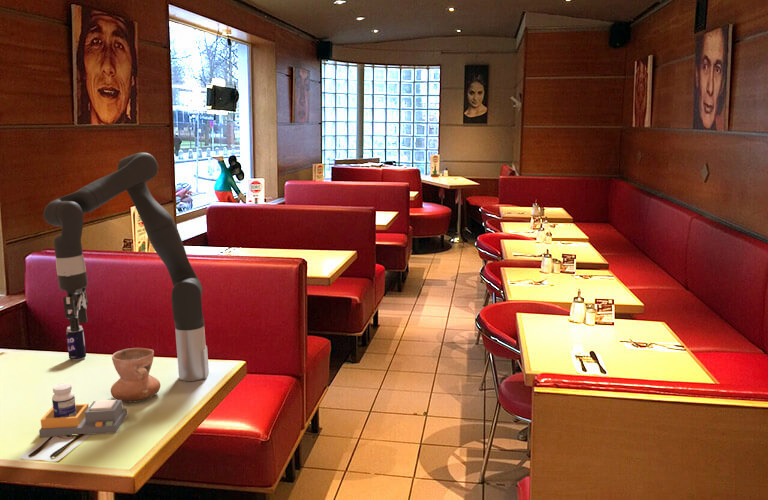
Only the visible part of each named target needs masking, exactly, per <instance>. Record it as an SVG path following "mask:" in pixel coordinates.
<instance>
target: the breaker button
mask: <svg viewBox="0 0 768 500" xmlns="http://www.w3.org/2000/svg"><path fill="white" fill-rule="evenodd" d="M95 401H96V402H95V403H94V405H93V406H92V407H91V408H90V409H91V411H99V410H112V409H113V408H114V406H115V405H116V399H107V400H104V399H103V400H95Z"/></svg>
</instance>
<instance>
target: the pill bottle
mask: <svg viewBox="0 0 768 500" xmlns="http://www.w3.org/2000/svg"><path fill="white" fill-rule="evenodd" d="M72 387H73V386H72V384H71V383H59V384H57V385H54V386H53V387H52V393H53V395H52V397H51V402H52V407H53V411H54V418H60V417H75V416H76V415H77V413H76V398H75V393H74V392H73V391H72V389H73V388H72Z"/></svg>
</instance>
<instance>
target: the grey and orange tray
mask: <svg viewBox="0 0 768 500" xmlns="http://www.w3.org/2000/svg"><path fill="white" fill-rule="evenodd" d="M115 400H116V399H115ZM96 401H97V400H95V401H92V402H91V404H90V405H89V403H80V404H76V403H75V405H76V413H77V415H76V416H75V417H60V418H54V411H53V406H51V408H50V409H49V410H48V411H47V412H46V413H45V414H44V415H43V417H41V419H40V426H41V427H40V429H39V430H38V433H39V438H51V437H65V436H64V435H70V436H73V435H72V434H84V435H100V434H116V433H117V431H118V430H119V429H120V427H121V426H122V424H123V423H124V421H125V420H126V418H127V417H128V409H127V407H126V408H124V407H123V402H122V400H116V405H115V406H114V408H113V409H112V410H99V411H91V409H90V408H91V407H92V406H93V405H94V403H95V402H96Z"/></svg>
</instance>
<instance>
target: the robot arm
mask: <svg viewBox="0 0 768 500" xmlns="http://www.w3.org/2000/svg"><path fill="white" fill-rule="evenodd" d="M158 171H159V164H158V161H157V159H156V158H155V157H154V156H153V155H152V154H151V153H148V152H137V153H134V154H131V155H128V156H125V157H123V158H121V159H120V160H119V161H118V163H117V170H116V171H113V172H112V173H110V174H108V175H107V174H106V175H105V176H102V177H101V178H98V179H96V180H94V181H92V182H90V183H88V184H86V185H85V186H83V187H81V188H79V189H77V191H75V192H71V193H70V194H66V195H63V196H60V197H58V198H56V199H54V200H51V201H50V202H49V203H48V204H46V206H45V207H44V210H43V214H42V215H43V218H44V221H45V222H46V223H47V224H48V225H51V226H54V227H61V234H59V235H57V236H55V238H54V239H53V247H54V254H55V267H56V268H55V269H56V274H57V275H56V276H57V282H58V289H59V290H60V291H64V292H66V296H64V297H62V298H63V299H62V302H63V307H64V308H63V309H64V317H65V319H67V320H68V321H69V326H70V329H71V331H72V332H76V331H79V330H80V328H79V325H80V324H87V322H88V316H87V308H88V307H87V306H88V305H89V301H88V295H87V289H86V288H87V287H88V286H89V282H88V281H89V280H88V275H87V268H86V261H85V258H84V252H83V246H82V237H83V236H82V235H83V227H84V221H85V220H84V219H85V218H84V217H85V216H84V214H88V213H92V212H93V211H95V210H96V209H98V208H100V207H102V206H103V205H104V204H106V203H108V202H110V201H111V200H112V199H114V198H115V197H117V196H119V195H120V194H121V193H124V192H125V191H126V192H127V194H128V195H129V198H130V199H131V201H132V203H133V205H134V207H135V210H136V212H137V213H138V215H139V218H140V220H141V222H142V224H143V228H144V230H145V233H146V236H147V237H148V240H149V242H150V245H151V246H152V248H153V250H154V251H155V253H156V254H157V256H158V257H159V258H160V260H161V261H162V263H163V264H164V265H165V267H166V269H167V271H168V274H169V276H170V280H171V282H172V287H173V288H172V291H171V294H170V295H171V296H170V297H171V307H172V308H171V309H172V317H173V321H174V329H175V342H176V343H175V344H176V354H177V355H176V356H177V366H178V367H177V368H178V369H177V370H178V379H179V380H180V381H184V382H195V381H200V380H206V379H207V378H208V376H209V372H210V371H209V370H210V369H209V357H208V354H209V353H208V345H206V334H205V333H206V332H205V318H204V315H203V305H202V304H203V303H202V302H203V301H202V295H203V286H202V283H201V281H200V279H199V278H198V276H197V274H196V272H195V270H194V268H193V266H192V264H191V263H190V260H189V259H188V256H187V251H186V249H185V246H184V243H183V241H182V238H181V235H180V233H179V232H180V231H179V229H178V227H177V224H176V223H175V220H174V219H173V217H172V215H171V214H170V213H169V212H168V211H167V209H165V208H164V207H163V206H162V205H161V204H160V203H159V202H158V201H157V200H156V199H155V198H154V197H153V195H152V194H151V191H150V189H149V187H148V186H147V182H149V181H152V180H153V179H155V177H156V176H157V175H158Z"/></svg>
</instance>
